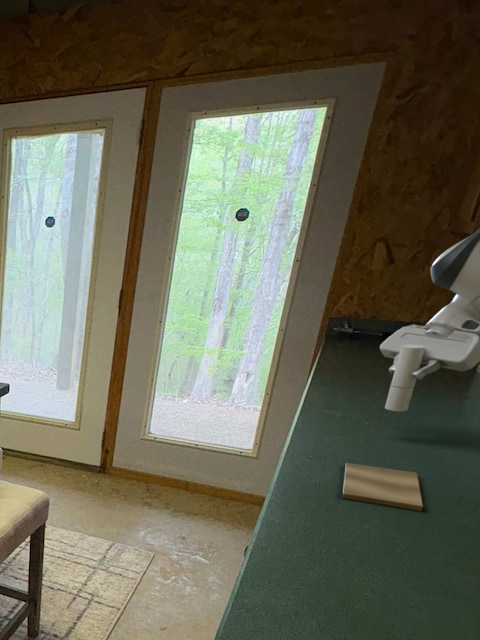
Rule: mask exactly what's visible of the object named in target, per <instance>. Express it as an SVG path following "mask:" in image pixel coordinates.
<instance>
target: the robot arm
mask: <svg viewBox="0 0 480 640" xmlns="http://www.w3.org/2000/svg"><path fill="white" fill-rule="evenodd" d="M430 278H431V281H432V283H433V284H434V285H436V286H438V287H440V288H443V289H446V290H447V291H451V292H452V293H454V294H455V296H454V297H453V299H452V301H450V302H449V303H448V304H447V305H445V306H443V307H442V308H441V309H440V310H439V311H438V312H437V313H436V314H434V316H433V317H432V318H431V319H430V320H429V321H427V322H426V324H425V325H420V324H419V325H418V324H410V325H406V326H402V327H401V328H400V329H397V330H396V331H395V332H393V334H391V335H390V336H388V337H387V338H386V339H385V340H384V341H383V342H382V343H381V344H380V345H379V351H380V352H381V354H382V355H383V357H385V358H388V359H393V364H392V365H391V366H389V368H388V372H389V373H390V374H391V375H394V372H395V368H396V364H397V361H398V357H399V353H400V350H401V346H402V345H420V346H425V350H424V354H423V357H422V361H421V364H420V365H425V366H423V367H420V368H419V369H416V370H415V371H414V372H413V373H412V376H413V378H415V379H416V380H422V379H423V378H424V377H425V376H426V375H429V374H432V373H434V372H437V371H438V370H439V369H440V368H441V369H442V368H443V369H447V370H452V371H453V370H454V371H459V372H466V371H469V370H472V369H473V368H475V367H476V365H477V364H479V363H480V227H479V228H478V229H477V230H476V231H474V232H473V233H472V234H470V235H469V236H468V237H466V238H464V239H462V240H461V241H459V242H456V244H453V245H452V246H451V247H449V248H447V249H446V250H445V251H443V252H441V254H440V255H439V256H437V258H436V259H434V261H433V263H432V265H431V266H430Z"/></svg>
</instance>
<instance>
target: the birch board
mask: <svg viewBox="0 0 480 640" xmlns="http://www.w3.org/2000/svg"><path fill="white" fill-rule="evenodd" d="M419 482H420V481H419V476H418V473H417V472H414V471H408V470H407V471H406V470H399V469H392V468H386V467H385V468H384V467H380V466H379V467H377V466H372V465H371V466H370V465H363V464H357V463H349V462H346V463H345V465H344V475H343V482H342V483H343V485H342V493H341V494H342V495H341V499H346V500H352V501H358V502H363V503H370V504H376V505H383V506H389V507H395V508H400V509H408V510H413V511H418V512H422V511H423V508H424V504H423V499H422V494H421V488H420V483H419Z"/></svg>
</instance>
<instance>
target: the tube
mask: <svg viewBox="0 0 480 640" xmlns="http://www.w3.org/2000/svg"><path fill="white" fill-rule="evenodd" d="M424 350H425V346H420V345H402V346H401V350H400V353H399V357H398V361H397V364H396V368H395V372H394V374H393V376H392V379H391V383H390V387H389V390H388V394H387V398H386V402H385V405H384V409H385V410H387V411H393V412H407V411H408V409H409V406H410V402H411V399H412V395H413V393H414V392H413V391H414V390H415V389H414V388H415V385H416V381H417V379H415V378H413V376H412V373H413V372H414V371H415V370H416V369H421V365H422V364H421V361H422V357H423V354H424Z"/></svg>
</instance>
